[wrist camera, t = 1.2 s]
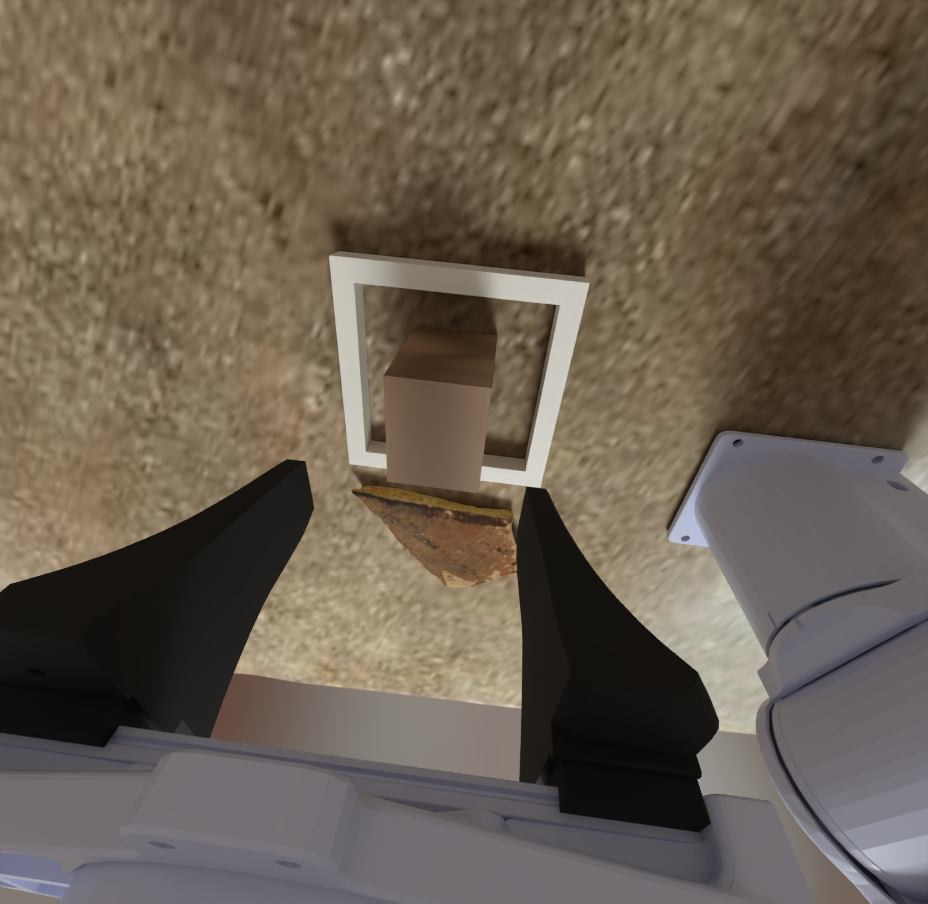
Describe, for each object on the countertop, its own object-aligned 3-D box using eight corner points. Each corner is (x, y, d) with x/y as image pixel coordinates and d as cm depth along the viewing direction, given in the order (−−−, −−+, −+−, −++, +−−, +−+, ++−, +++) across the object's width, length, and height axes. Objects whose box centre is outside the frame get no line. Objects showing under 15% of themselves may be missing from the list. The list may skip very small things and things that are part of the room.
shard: (358, 476, 26) (348, 494, 25) (457, 427, 23) (453, 444, 22) (450, 576, 31) (447, 596, 29) (542, 545, 28) (543, 565, 27)
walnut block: (497, 334, 20) (492, 388, 15) (485, 423, 23) (478, 493, 18) (415, 325, 20) (383, 375, 15) (414, 415, 23) (387, 481, 18)
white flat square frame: (585, 277, 18) (589, 283, 17) (539, 474, 24) (540, 487, 23) (338, 250, 18) (329, 255, 17) (356, 452, 24) (349, 463, 24)
